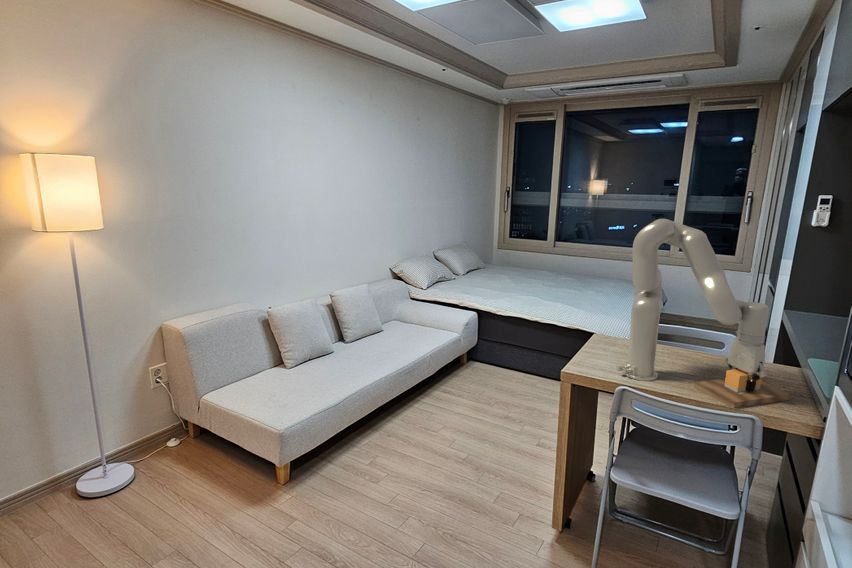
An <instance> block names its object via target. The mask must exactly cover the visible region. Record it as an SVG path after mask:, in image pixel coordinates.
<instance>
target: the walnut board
mask: <svg viewBox="0 0 852 568" xmlns="http://www.w3.org/2000/svg"><path fill="white" fill-rule="evenodd" d="M725 379H726V377H725V378H719V379H711V380H702V381H695V382H694V386H693V387H694V388H695V389H696V390H698V391H700V392H703V393H705V395H708V396H710V397H712V398H714V399H716V400H718V401H719V402H721V403H723V404H725V405H727V406H729V407H731V408H732V409H736V408H744V407H750V406H751V407H752V406H757V405H764V404H770V403H777V402H783V401H791V399H792V395H793V394H792V393H790V392H788V391H785V390H784V389H780V388H778V387H775V386H773V385H772V384H771V385H770V384H768V383H767V382H764V381H762V380H761V386H760V389H757V390H754V391H743V392H735V391H733V390H731V389H729V388H727V387H725V386H724V385H725Z"/></svg>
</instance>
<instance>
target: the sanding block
mask: <svg viewBox="0 0 852 568" xmlns="http://www.w3.org/2000/svg"><path fill="white" fill-rule="evenodd" d="M759 374H760V372H758V375H759ZM753 377H754V374H753ZM725 378H726V379H725ZM725 378H724V379H725V385H724V386H725V387H727V388H729V389H731V390H733V391H735V392H743V391H746V384H747V380H749V374H748V373H747V372H745V371H742V370H740V369H734V370H731V369H728V370H726V373H725ZM762 380H763V378H761V379H759V380H758V381H756V386H755V390H757V389H760V386H761V381H762Z"/></svg>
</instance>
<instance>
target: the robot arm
mask: <svg viewBox="0 0 852 568" xmlns="http://www.w3.org/2000/svg"><path fill="white" fill-rule="evenodd" d="M662 244H667V245H670V246H673V247H674V248H675V247H676V248H679V249H681V251H682V253H683V255H684V257H685V259H686V261H687V263H688V265H689V266H690V269H691V271H692V273H693V275H694V277H695V280H696V281H697V283H698V285H699V287H700V289H701V290H702V292H703V295H704V297H705V298H706V300H707V303H708V304H709V306H710V308H711V311H712V313H713V315H714V317H715V319H716V320H717V321H718V322H719V323H720V324H722V325H725V326H732V325H733V326H734V325H736V324H738V329H737V330H735V334H736V337H735V338H734V339H733V341H732V343H731V346H730V348H729V352H728V357H727V358H725V362H726V364H727V365H728V367H729V370H734V369H740V370H742V371H745V372H747V373H748V374H749V380H747V384H746V391H754V390H755V386H756V381H758V380H759V379H761V378H762V379H764V378H766V377H767V378H768V374H767V371H766V369H765V362H766V348H765V347H766V346H765V344H764V342H765V337H766V330H767V324H768V318H769V312H770V308H769V306H768V305H767V304H765V303H763V302H756V301H744V300H740V299H736V298H735V296H734V294H733V292H732V290H731V288H730V285H729V283H728V280H727V276H726V274H725V273H726V272H725V271H724V269H723V267H722V264H721V262H720V261H719V259H718V257H717V255H716V253H715V250H714V248H713V247H712V244H711V242H710V241H709V239H708V236H707V234H706V233H705V232H704V231H703V230H700V229H698V228H694V227H690V226H688V225H685V224H682V223H679V222H676V221H673V220H670V219H667V218H658V219H655V220H654V221H652V222H651V223H649V224H647V225H646V226H644V227H643V228H642V229H641V230H640V231H638V233H637V234H636V236H635V238H634V240H633V244H632V278H631V279H632V284H633V286H634V290H635V291H634V296H635V297H634V298H635V300H634V301H633V303H632V306H631V315H630V331H629V341H628V343H629V344H628V353H627V360H626V361H625V362H624V364H623V365H616V366H615V370H616V371H617V372H622V374H623V375H624V376H625V377H628V378H630V379H631V380H637V381H646V382H648V381H649V382H651V381H655V380H657V379H658V377H659V373H658V372H657V371H656V370H655V362H656V354H657V346H658V335H659V327H660V319H661V317H660V316H661V311H662V307H663V286H662V285H663V282H662V281H663V280H662V279H663V277H662V273H661V269H659V262H658V261H659V255H658V254H659V252H658V251H659V248H660V247H661V245H662ZM758 372H760V374H759V375H758ZM753 374H754V377H753Z"/></svg>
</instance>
